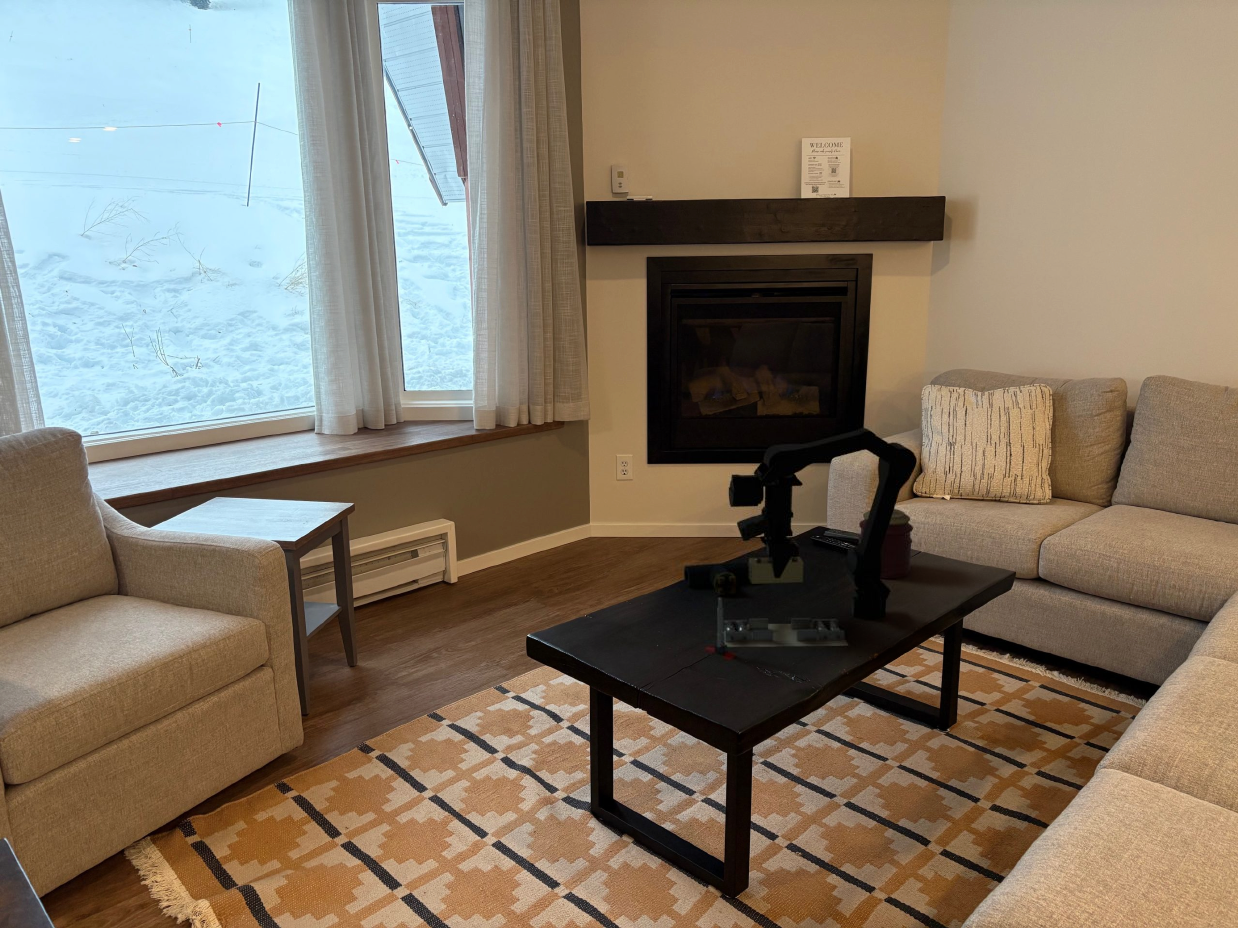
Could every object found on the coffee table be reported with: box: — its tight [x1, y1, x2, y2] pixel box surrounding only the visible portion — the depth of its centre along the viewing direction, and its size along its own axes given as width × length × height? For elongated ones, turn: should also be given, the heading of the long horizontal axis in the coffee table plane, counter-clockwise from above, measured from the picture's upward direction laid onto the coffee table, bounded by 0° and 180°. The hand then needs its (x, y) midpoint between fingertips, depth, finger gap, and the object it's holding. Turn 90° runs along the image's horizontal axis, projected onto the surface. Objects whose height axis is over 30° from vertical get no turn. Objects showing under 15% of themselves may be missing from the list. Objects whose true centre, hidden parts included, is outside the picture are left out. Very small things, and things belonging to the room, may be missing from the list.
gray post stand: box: [705, 597, 738, 661], centre depth 174 cm, size 8×13×9 cm
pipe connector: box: [683, 561, 750, 596], centre depth 215 cm, size 12×5×15 cm
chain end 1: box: [723, 617, 773, 642], centre depth 186 cm, size 10×7×2 cm
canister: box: [858, 508, 914, 579], centre depth 223 cm, size 13×13×18 cm
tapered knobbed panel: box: [748, 556, 804, 585], centre depth 192 cm, size 11×4×5 cm, turn 93°
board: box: [724, 623, 850, 648], centre depth 186 cm, size 25×11×1 cm, turn 90°
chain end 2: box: [790, 617, 846, 641], centre depth 186 cm, size 10×7×2 cm
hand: (775, 574), depth 193 cm, fingers closed on tapered knobbed panel, 4 cm apart
